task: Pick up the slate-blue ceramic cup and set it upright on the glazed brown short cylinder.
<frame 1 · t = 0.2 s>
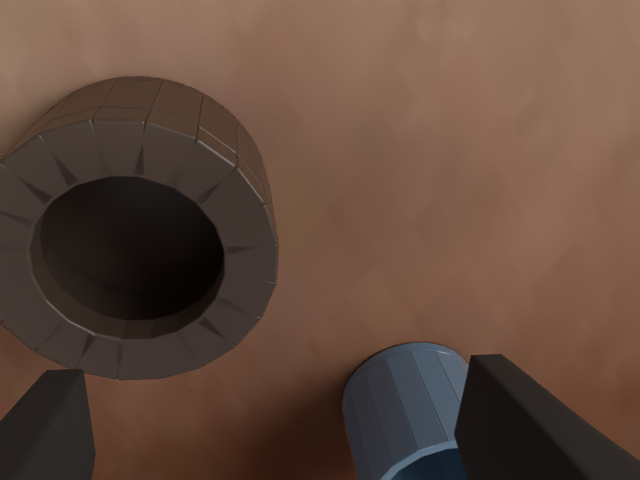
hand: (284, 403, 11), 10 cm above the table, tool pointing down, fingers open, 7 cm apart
brown short cylinder: (149, 195, 20), on the table
cup: (408, 397, 25), on the table
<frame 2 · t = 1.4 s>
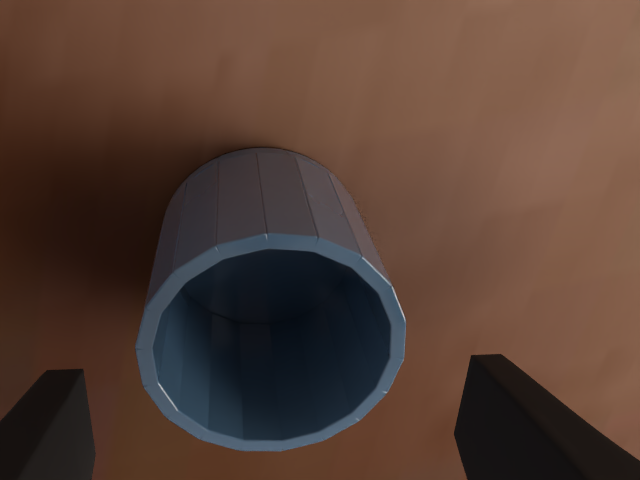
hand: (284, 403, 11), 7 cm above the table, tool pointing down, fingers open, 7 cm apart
cup: (262, 241, 17), on the table
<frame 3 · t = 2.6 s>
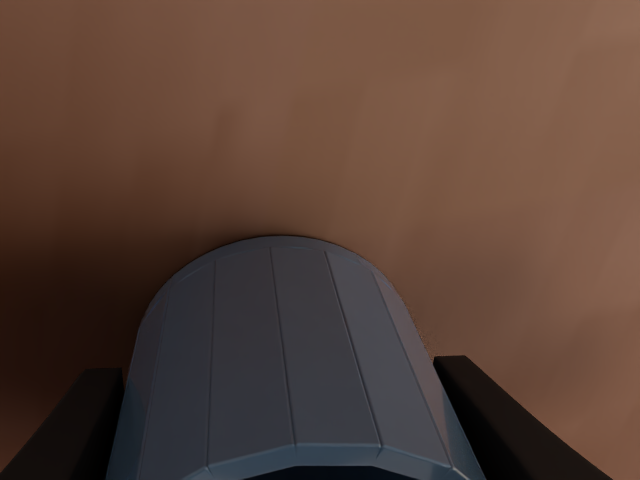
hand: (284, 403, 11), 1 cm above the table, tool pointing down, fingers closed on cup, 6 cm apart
cup: (276, 356, 13), on the table, touching gripper
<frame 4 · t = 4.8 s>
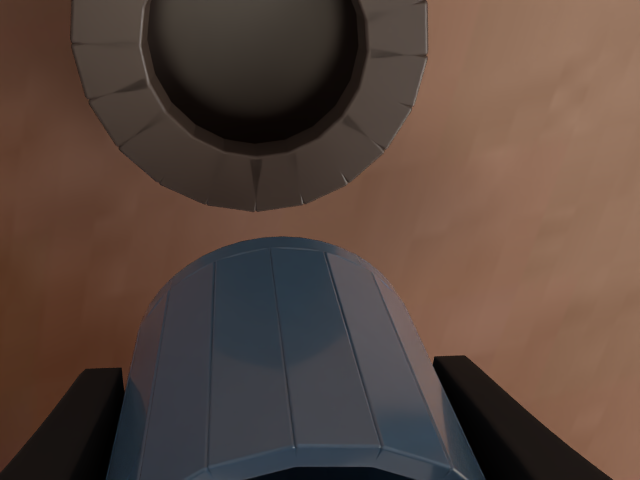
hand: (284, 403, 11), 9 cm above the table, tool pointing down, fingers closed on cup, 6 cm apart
brown short cylinder: (250, 21, 17), on the table
cup: (276, 357, 13), point 8 cm above the table, touching gripper
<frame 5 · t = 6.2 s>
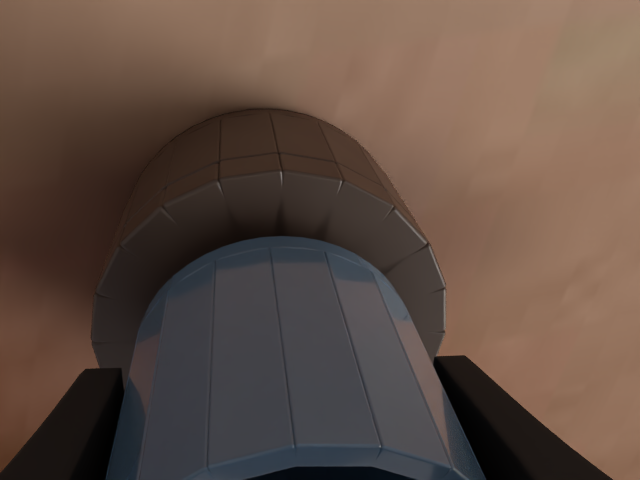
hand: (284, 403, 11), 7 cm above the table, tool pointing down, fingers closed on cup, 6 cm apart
brown short cylinder: (265, 242, 17), on the table
cup: (276, 356, 13), point 5 cm above the table, touching gripper
when the fingers open (6 cm above the table, at t = 7.0 s): cup stays where it is, resting on brown short cylinder.
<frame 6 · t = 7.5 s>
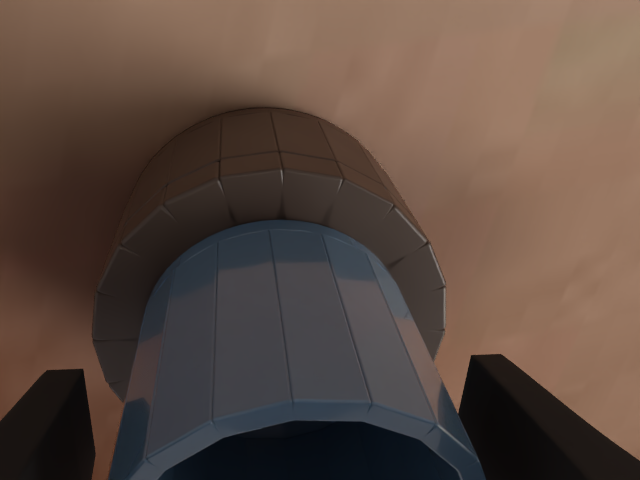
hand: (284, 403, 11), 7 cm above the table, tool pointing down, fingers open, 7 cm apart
brown short cylinder: (265, 241, 17), on the table
cup: (276, 336, 13), point 4 cm above the table, touching brown short cylinder
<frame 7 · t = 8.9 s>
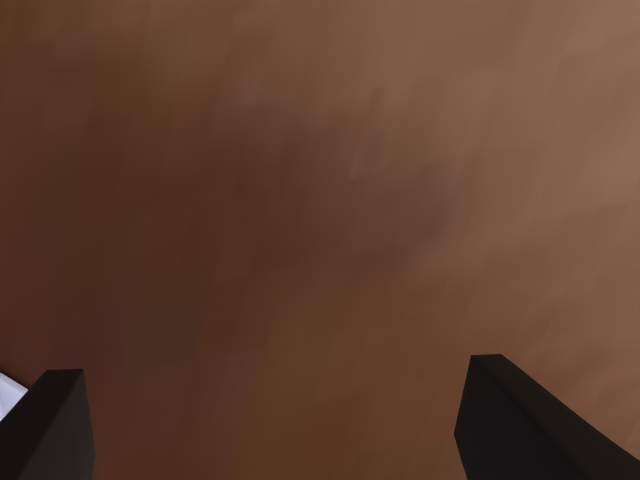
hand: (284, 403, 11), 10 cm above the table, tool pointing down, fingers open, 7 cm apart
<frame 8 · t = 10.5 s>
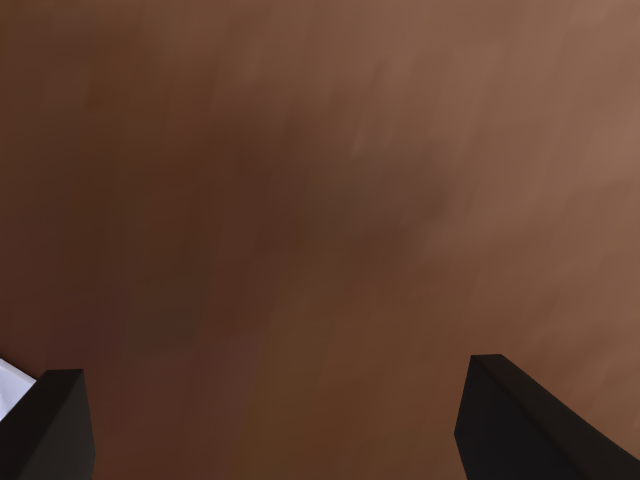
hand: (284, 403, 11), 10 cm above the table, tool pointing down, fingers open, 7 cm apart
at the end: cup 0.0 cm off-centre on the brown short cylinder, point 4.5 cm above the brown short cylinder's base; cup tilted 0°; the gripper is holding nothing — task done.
